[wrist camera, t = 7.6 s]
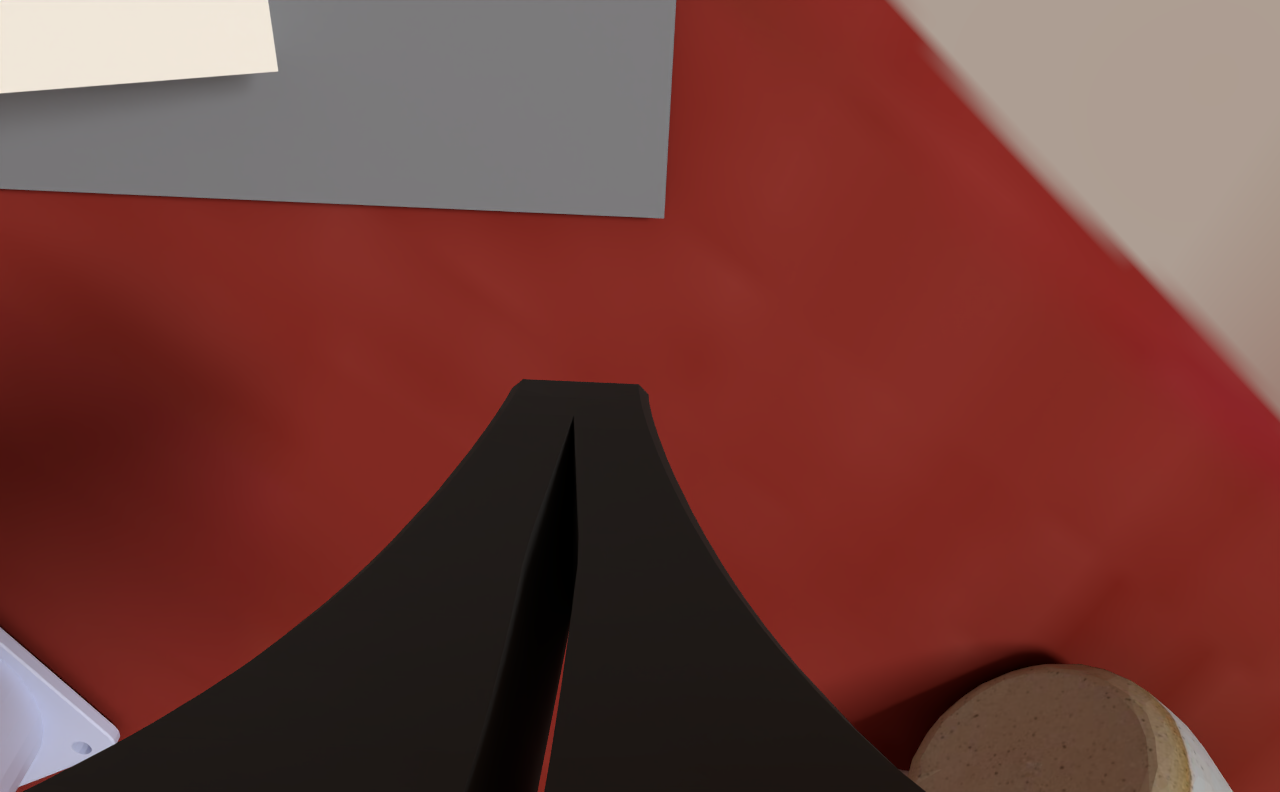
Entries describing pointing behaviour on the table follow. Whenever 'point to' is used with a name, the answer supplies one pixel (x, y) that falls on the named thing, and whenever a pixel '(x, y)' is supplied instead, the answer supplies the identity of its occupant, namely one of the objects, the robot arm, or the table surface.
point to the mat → (385, 113)
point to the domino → (130, 41)
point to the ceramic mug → (1062, 738)
